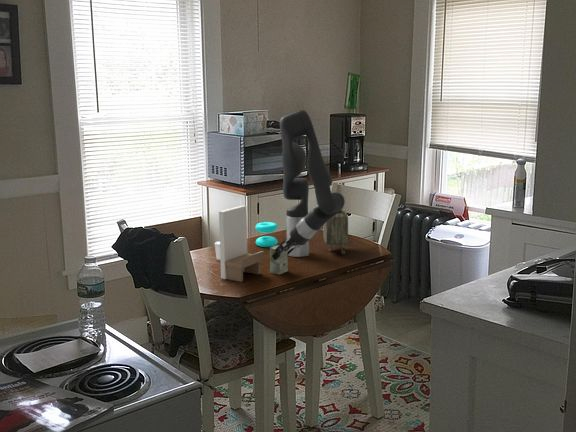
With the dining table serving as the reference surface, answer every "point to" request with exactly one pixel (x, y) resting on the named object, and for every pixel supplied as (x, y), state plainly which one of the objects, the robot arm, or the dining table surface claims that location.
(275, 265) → the sage cabinet
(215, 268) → the dining table surface
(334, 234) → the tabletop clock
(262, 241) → the donuts
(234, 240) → the white display stand
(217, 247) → the shot glass
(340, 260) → the dining table surface
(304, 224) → the robot arm
